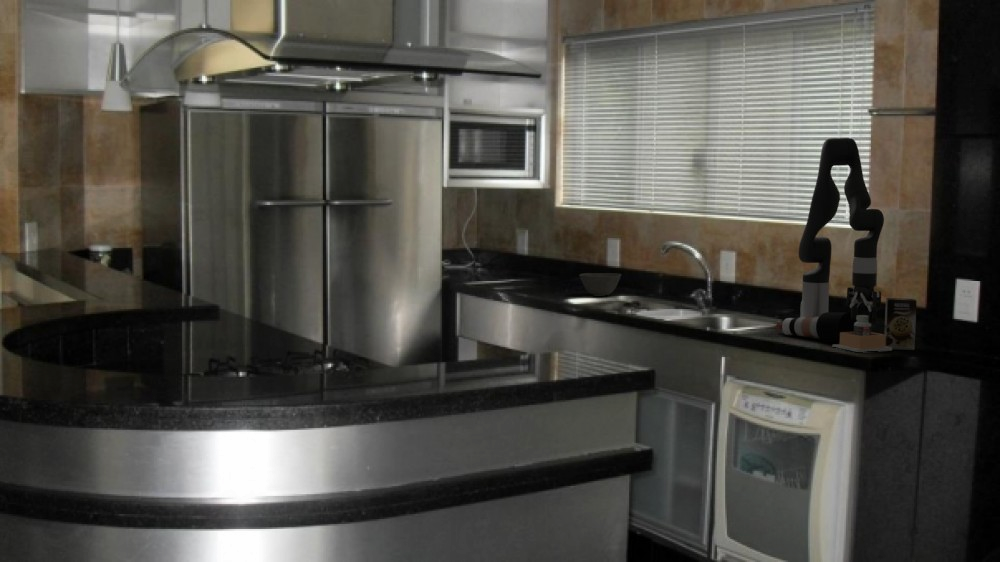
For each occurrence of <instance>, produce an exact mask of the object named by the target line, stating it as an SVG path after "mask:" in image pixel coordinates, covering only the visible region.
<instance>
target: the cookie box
mask: <svg viewBox="0 0 1000 562" xmlns="http://www.w3.org/2000/svg"><path fill="white" fill-rule="evenodd" d="M917 302H918V301H917V299H914V298H901V297H899V298H896V297H886V298H885V312H884V333H883V335H886V337H885V346H888V347H892V350H905V351H907V350H908V351H910V350H911V351H914V350H915V346H916V345H915V344H916V343H915V342H916V323H917Z"/></svg>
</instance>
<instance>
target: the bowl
mask: <svg viewBox="0 0 1000 562" xmlns="http://www.w3.org/2000/svg"><path fill="white" fill-rule="evenodd" d="M578 276H579V278H580V281H581V283H582V284H583V287H584V288H585V290H586V291H587V292H588V293H589V294H590V295H591V294H596V295H608V296H610V295H611V294H612V293H613V292H614V291H615V289H616V288H617V286H618V284H619V281H620V280H621V277H622V274H621V273H614V272H613V273H611V272H607V273H602V272H597V273H594V272H593V273H592V272H586V273H580V274H579V275H578ZM609 294H610V295H609Z"/></svg>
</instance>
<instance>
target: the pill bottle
mask: <svg viewBox="0 0 1000 562" xmlns="http://www.w3.org/2000/svg"><path fill="white" fill-rule="evenodd" d="M856 320H857V322H855V323H854V335H858V336H868V335H871V332H872V323H868V315H866V314H858V315H857V318H856Z"/></svg>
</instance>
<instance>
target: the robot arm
mask: <svg viewBox="0 0 1000 562" xmlns="http://www.w3.org/2000/svg"><path fill="white" fill-rule="evenodd" d="M834 166H835V167H837V166H838V167H839V166H840V167H841V166H848V167H849V173H848V176H847V178H846V179H845V182H844V185H843V189H844V191H843V193H844V196H845V198H846V201H847V204H848V207H849V208H848V210H849V217H848V222H849V226H850V227H851V229H853V230H854V231H857V232H868V233H867V235H866V236H865V237H861V238H857V239H856V240H854V244H853V259H852V273H851V274H852V275H851V277H852V278H851V281H852V282H851V285H852V286H851V287H847V289H846V291H847V292H846V302H845V303H846V304H845V305H846V306H847V307H849V308H850V313H851V320H856V318H857V315H859V308H858V307H860V304H864V305H865V306H866V307H867V309H868V315H867V316H868V323H871V324H875V323H876V320H877V312H878V311H881V310H882V291H881V290H878V291H877V290H875V287H876V286H877V281H878V279H877V278H878V259H877V257H878V245H879V244H878V243H879V239H880V236H881V233H882V230H883V227H884V223H885V216H884V214H883V212H882V210H880V209H877V208H870V206H871V205H872V199H871V196H870V193H869V191H868V188H867V185H866V183H865V179H864V174H863V167H862V162H861V157H860V152H859V147H858V145H857V142H856V140H854V138H851V137H836V138H835V137H834V138H832V137H831V138H826V139H825V141H824V142H823V144H822V147H821V152H820V159H819V165H818V172H817V178H816V181H815V186H814V189H813V193H812V197H811V202H810V206H809V212H808V215H807V221H806V224H805V227H804V229H803V233H802V236H801V237H800V238H801V239H800V242H799V246H798V258H799V260H800V261H801V262H802V263H805V264H809V263H810V264H818V265H817V266H816V267H815V268H814V269H812V270H810V271H808V272H805V273H803V274H802V287H801V288H802V292H801V293H802V294H801V297H802V298H801V302H800V307H799V308H800V312H799V314H800V316H799V318H806V317H819V316H820V315H821V314H823V313H826V312H829V303H830V302H829V300H830V299H829V297H830V294H829V293H830V274H831V262H832V242H831V240H830V239H829V237H826V236H825V237H823V236H822V237H820V236H817V235H818V234H819V232H820V231H821V230H822V229H824V227H825V226H826V225H828V224H829V223H830V222H831V221H832V220H833V219H834V218H835V216H836V215H837V213H838V210H839V204H840V201H841V193H840V190H839V188H838V186H837V185H836V183H835V181H834V179H833V177H832V169H833V167H834Z"/></svg>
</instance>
